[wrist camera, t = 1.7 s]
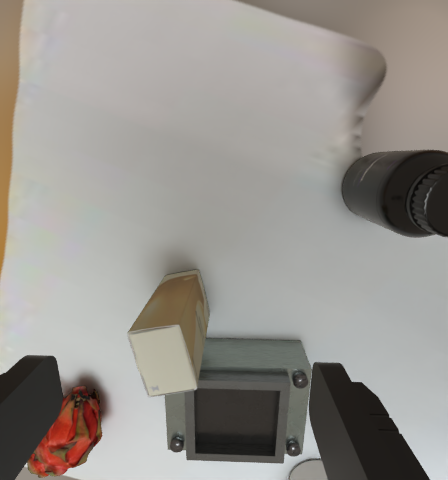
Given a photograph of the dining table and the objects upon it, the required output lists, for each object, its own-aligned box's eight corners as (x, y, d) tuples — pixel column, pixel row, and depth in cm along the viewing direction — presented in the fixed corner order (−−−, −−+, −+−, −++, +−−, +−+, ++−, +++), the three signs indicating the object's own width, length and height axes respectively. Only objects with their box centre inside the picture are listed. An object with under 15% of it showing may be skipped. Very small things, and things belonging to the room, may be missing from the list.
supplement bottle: (347, 149, 29) (425, 140, 17) (413, 155, 29) (537, 150, 17) (334, 215, 30) (397, 247, 19) (396, 220, 30) (497, 256, 19)
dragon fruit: (68, 426, 41) (100, 358, 40) (98, 475, 37) (134, 401, 36) (0, 456, 34) (36, 374, 33) (27, 521, 30) (70, 430, 29)
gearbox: (300, 340, 35) (315, 379, 28) (293, 417, 38) (305, 467, 32) (172, 337, 35) (159, 375, 29) (176, 413, 38) (165, 462, 32)
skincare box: (210, 314, 34) (200, 394, 22) (176, 320, 34) (148, 402, 23) (198, 265, 32) (180, 324, 21) (163, 272, 33) (124, 334, 21)
